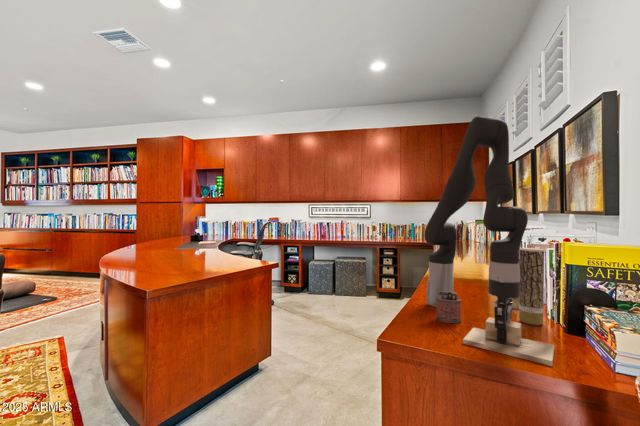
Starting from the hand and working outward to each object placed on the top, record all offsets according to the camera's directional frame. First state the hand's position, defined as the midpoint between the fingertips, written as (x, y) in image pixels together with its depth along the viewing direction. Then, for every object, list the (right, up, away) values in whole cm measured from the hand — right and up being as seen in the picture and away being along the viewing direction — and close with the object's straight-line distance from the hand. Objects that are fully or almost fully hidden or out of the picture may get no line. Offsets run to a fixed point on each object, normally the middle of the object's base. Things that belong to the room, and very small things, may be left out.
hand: (503, 339), depth 86 cm
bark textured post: (+21, -2, +19) cm, 28 cm away
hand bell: (+27, -3, +38) cm, 47 cm away
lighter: (-7, -2, +20) cm, 21 cm away
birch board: (+1, -2, -1) cm, 2 cm away
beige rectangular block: (0, 0, 0) cm, 0 cm away
